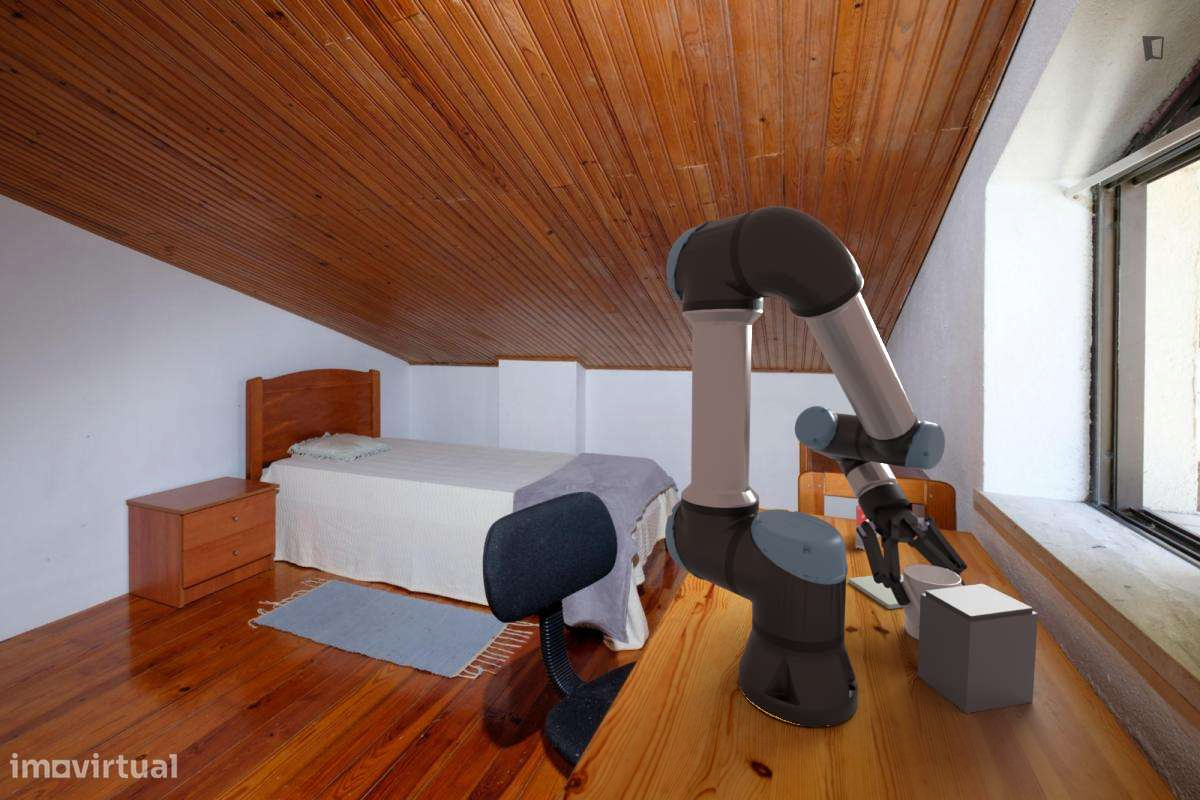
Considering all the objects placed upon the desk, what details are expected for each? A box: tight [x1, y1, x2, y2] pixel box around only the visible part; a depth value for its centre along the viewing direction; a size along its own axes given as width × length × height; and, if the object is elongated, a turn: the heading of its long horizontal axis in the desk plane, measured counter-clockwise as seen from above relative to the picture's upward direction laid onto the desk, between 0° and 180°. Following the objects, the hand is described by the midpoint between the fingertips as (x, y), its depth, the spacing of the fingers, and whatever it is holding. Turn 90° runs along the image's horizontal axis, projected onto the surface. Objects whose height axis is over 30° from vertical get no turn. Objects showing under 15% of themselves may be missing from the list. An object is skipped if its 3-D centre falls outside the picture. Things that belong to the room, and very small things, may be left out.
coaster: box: [848, 573, 904, 610], centre depth 101 cm, size 11×11×1 cm
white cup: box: [902, 563, 963, 641], centre depth 86 cm, size 8×8×10 cm
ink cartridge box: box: [854, 504, 881, 551], centre depth 125 cm, size 2×11×10 cm, turn 137°
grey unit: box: [917, 583, 1039, 714], centre depth 72 cm, size 11×8×13 cm
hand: (947, 622), depth 83 cm, fingers open, 8 cm apart
